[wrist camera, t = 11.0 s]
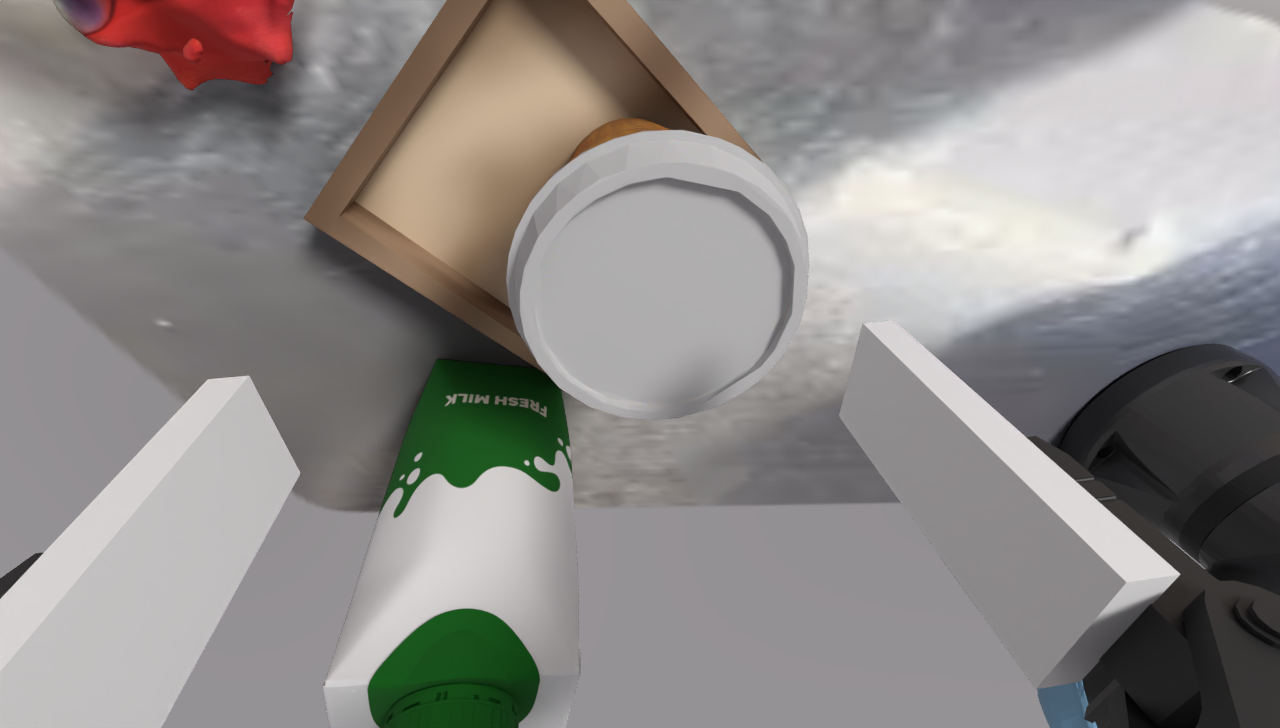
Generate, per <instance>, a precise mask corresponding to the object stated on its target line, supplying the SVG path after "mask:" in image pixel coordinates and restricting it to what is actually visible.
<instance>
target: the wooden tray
mask: <svg viewBox="0 0 1280 728" xmlns="http://www.w3.org/2000/svg"><path fill="white" fill-rule="evenodd" d="M625 118H640V119H646V120H650V121H653V122H655V123H658V124H660V125H662V126H664V127H665V128H668V129H670V130H686V131H690V132H695V133H699V134H703V135H708V136H712V137H716V138H720V139H722V140H725V141H727V142H729V143H732V144H734V145H736V146H738V147H741V148H742V149H744V150H745V151H747V152H748V153H750V154H751V155H753V156H754V157H755V158H757V159H758V160H760V161H761V159H760V158H759V157H758V156H757V155H756V153H755V152H754V151H753V150H752V149H751V147H750V146H749V145H748V144H747V143H746V142H745V140H744V139H743V138H742V137H741V136H740V134H739V133H738V132H737V131H736V130H735V129H734V127H733V126H732V125H731V124H730V123H729V121H728V120H727V119H726V118H725V117H724V115H723V114H722V113H721V112H720V111H719V110H718V108H717V107H716V106H715V105H714V104H713V102H712V101H711V100H710V99H709V98H708V97H707V95H706V94H705V93H704V92H703V91H702V89H701V88H700V87H699V86H698V85H697V83H696V82H695V81H694V80H693V79H692V78H691V76H690V75H689V74H688V73H687V72H686V70H685V69H684V68H683V67H682V66H681V65H680V63H679V62H678V61H677V60H676V59H675V57H674V56H673V55H672V54H671V53H670V51H669V50H668V49H667V48H666V47H665V46H664V44H663V43H662V42H661V41H660V40H659V38H658V37H657V36H656V35H655V34H654V33H653V31H652V30H651V29H650V28H649V27H648V25H647V24H646V23H645V22H644V21H643V19H642V18H641V17H640V16H639V15H638V14H637V12H636V11H635V10H634V9H633V8H632V6H631V5H630V4H629V3H628V2H627V1H626V0H447V1H446V3H445V4H444V6H443V7H442V9H441V10H440V12H439V13H438V15H437V16H436V18H435V19H434V21H433V22H432V24H431V25H430V27H429V28H428V30H427V31H426V33H425V34H424V36H423V37H422V39H421V41H420V42H419V44H418V45H417V47H416V48H415V50H414V51H413V53H412V54H411V56H410V57H409V59H408V60H407V62H406V63H405V65H404V66H403V68H402V69H401V71H400V72H399V74H398V75H397V77H396V78H395V80H394V82H393V83H392V85H391V86H390V88H389V89H388V91H387V92H386V94H385V95H384V97H383V98H382V100H381V101H380V103H379V104H378V106H377V107H376V109H375V110H374V112H373V113H372V115H371V116H370V118H369V120H368V121H367V123H366V124H365V126H364V127H363V129H362V130H361V132H360V133H359V135H358V136H357V138H356V139H355V141H354V142H353V144H352V145H351V147H350V148H349V150H348V151H347V153H346V154H345V156H344V158H343V159H342V161H341V162H340V164H339V165H338V167H337V168H336V170H335V171H334V173H333V174H332V176H331V177H330V179H329V180H328V182H327V183H326V185H325V186H324V188H323V189H322V191H321V192H320V194H319V196H318V197H317V199H316V200H315V202H314V203H313V205H312V206H311V208H310V209H309V211H308V212H307V214H306V215H305V217H304V218H303V219H305V220H306V221H308V222H309V223H311V224H312V225H314V226H316V227H317V228H319V229H320V230H322V231H323V232H325V233H327V234H328V235H330V236H331V237H333V238H334V239H336V240H338V241H339V242H341V243H342V244H344V245H345V246H347V247H348V248H350V249H352V250H353V251H355V252H356V253H358V254H359V255H361V256H363V257H364V258H366V259H367V260H369V261H370V262H372V263H373V264H375V265H377V266H378V267H380V268H381V269H383V270H384V271H386V272H388V273H389V274H391V275H392V276H394V277H395V278H397V279H398V280H400V281H402V282H403V283H405V284H406V285H408V286H409V287H411V288H413V289H414V290H416V291H417V292H419V293H420V294H422V295H423V296H425V297H427V298H428V299H430V300H431V301H433V302H434V303H436V304H438V305H439V306H441V307H442V308H444V309H445V310H447V311H449V312H450V313H452V314H453V315H455V316H456V317H458V318H459V319H461V320H463V321H464V322H466V323H467V324H469V325H470V326H472V327H474V328H475V329H477V330H478V331H480V332H481V333H483V334H484V335H486V336H488V337H489V338H491V339H492V340H494V341H495V342H497V343H499V344H500V345H502V346H503V347H505V348H506V349H508V350H509V351H511V352H513V353H514V354H516V355H517V356H519V357H520V358H522V359H524V360H525V361H527V362H528V363H530V364H531V365H533V366H534V367H536V368H538V369H539V370H541V371H542V372H544V373H545V374H547V373H546V372H545V371H544V370H543V369H542V368H541V366H540V365H539V364H538V363H537V361H536V359H535V357H534V356H533V355H532V353H531V352H530V350H529V348H528V347H527V345H526V343H525V342H524V340H523V338H522V337H521V335H520V334H519V332H518V330H517V328H516V325H515V322H514V319H513V315H512V312H511V309H510V306H509V300H508V291H507V282H506V278H507V267H508V257H509V252H510V248H511V245H512V241H513V238H514V234H515V231H516V228H517V226H518V225H519V223H520V221H521V219H522V217H523V215H524V213H525V211H526V209H527V208H528V206H529V204H530V202H531V201H532V199H533V198H534V197H535V195H536V194H537V193H538V192H539V190H540V189H541V188H542V187H543V186H544V185H545V184H546V183H547V182H548V180H549V179H550V178H551V177H552V176H553V175H554V174H555V173H556V172H557V171H559V170H560V169H561V168H563V167H564V166H565V165H567V164H568V162H569V160H570V159H571V157H572V155H573V153H574V152H575V150H576V148H577V146H578V145H579V144H580V143H581V142H582V140H583V139H584V138H585V137H586V136H588V135H589V134H590V133H591V132H592V131H593V130H595V129H596V128H598V127H600V126H602V125H604V124H606V123H607V122H610V121H614V120H618V119H625ZM761 162H762V161H761ZM547 375H548V374H547Z"/></svg>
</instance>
